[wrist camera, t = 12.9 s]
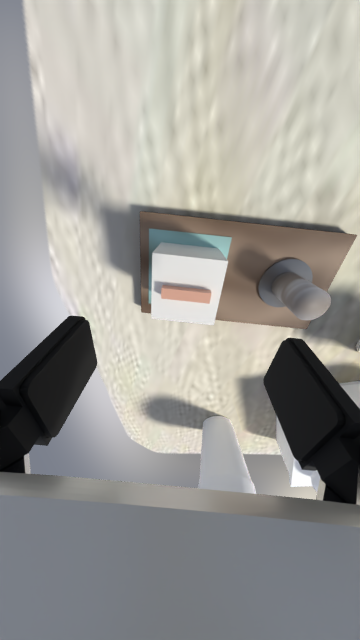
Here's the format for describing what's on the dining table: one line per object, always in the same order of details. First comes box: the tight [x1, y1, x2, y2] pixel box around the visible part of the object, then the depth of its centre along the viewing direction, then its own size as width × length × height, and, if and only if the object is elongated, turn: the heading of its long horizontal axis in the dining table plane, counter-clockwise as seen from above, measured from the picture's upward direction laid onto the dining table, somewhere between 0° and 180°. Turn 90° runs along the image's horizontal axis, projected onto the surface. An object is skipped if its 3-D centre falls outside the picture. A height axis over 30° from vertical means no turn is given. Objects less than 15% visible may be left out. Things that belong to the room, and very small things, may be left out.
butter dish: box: [276, 381, 360, 492], centre depth 31 cm, size 18×18×16 cm
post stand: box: [140, 211, 357, 329], centre depth 20 cm, size 12×23×8 cm, turn 85°
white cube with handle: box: [151, 242, 228, 325], centre depth 19 cm, size 6×6×7 cm
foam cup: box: [198, 416, 256, 494], centre depth 35 cm, size 10×9×13 cm
